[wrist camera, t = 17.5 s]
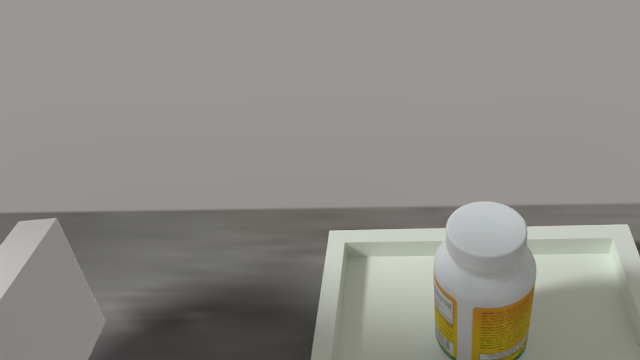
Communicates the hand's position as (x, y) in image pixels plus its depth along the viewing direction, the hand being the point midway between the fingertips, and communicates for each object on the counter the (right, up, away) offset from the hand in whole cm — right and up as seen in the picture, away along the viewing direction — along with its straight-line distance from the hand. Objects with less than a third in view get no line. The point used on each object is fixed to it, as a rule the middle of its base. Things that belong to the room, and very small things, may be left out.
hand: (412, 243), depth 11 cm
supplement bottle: (+8, -9, +26) cm, 28 cm away
